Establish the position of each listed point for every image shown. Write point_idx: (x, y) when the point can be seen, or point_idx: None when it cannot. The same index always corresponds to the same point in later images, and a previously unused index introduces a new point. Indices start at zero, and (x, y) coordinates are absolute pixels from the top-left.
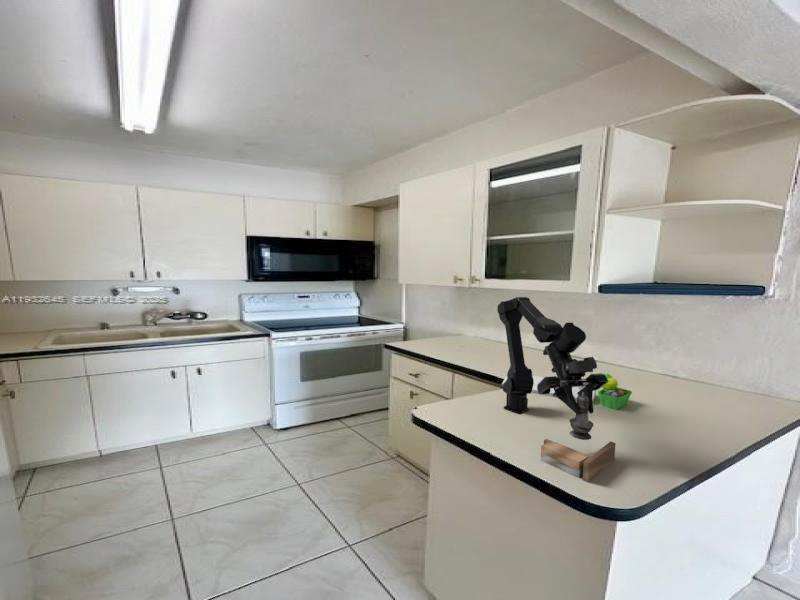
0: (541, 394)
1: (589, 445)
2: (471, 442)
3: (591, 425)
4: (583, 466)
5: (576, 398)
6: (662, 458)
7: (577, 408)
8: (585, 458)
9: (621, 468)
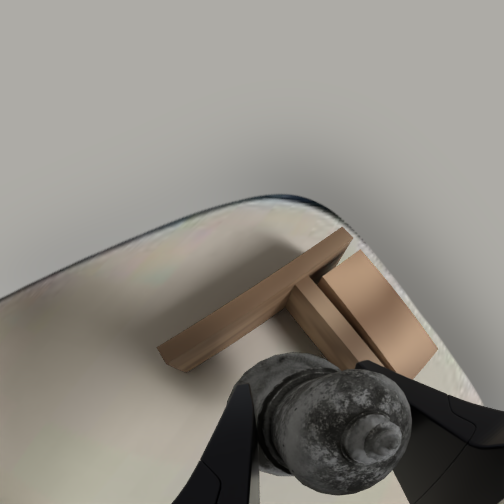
0: None
1: (183, 478)
2: None
3: (257, 371)
4: (347, 246)
5: None
6: (37, 359)
7: (387, 372)
8: (331, 270)
9: None
